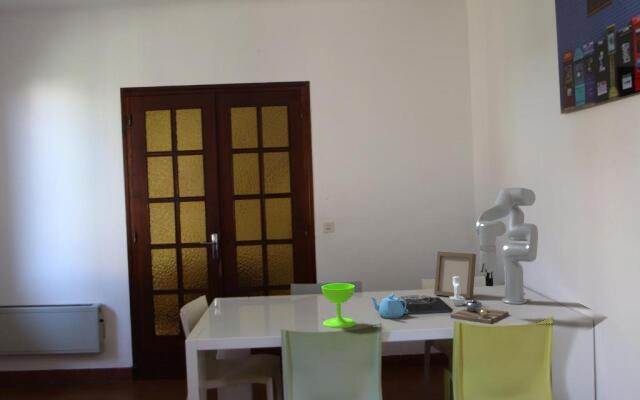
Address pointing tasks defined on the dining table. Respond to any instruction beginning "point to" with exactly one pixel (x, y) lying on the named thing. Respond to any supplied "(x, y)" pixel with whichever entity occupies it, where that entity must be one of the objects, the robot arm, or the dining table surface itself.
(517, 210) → the robot arm
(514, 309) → the dining table surface
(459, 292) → the figurine
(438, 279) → the photo frame
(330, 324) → the wineglass
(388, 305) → the teapot
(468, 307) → the grey metal elongated piece
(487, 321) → the stand board
